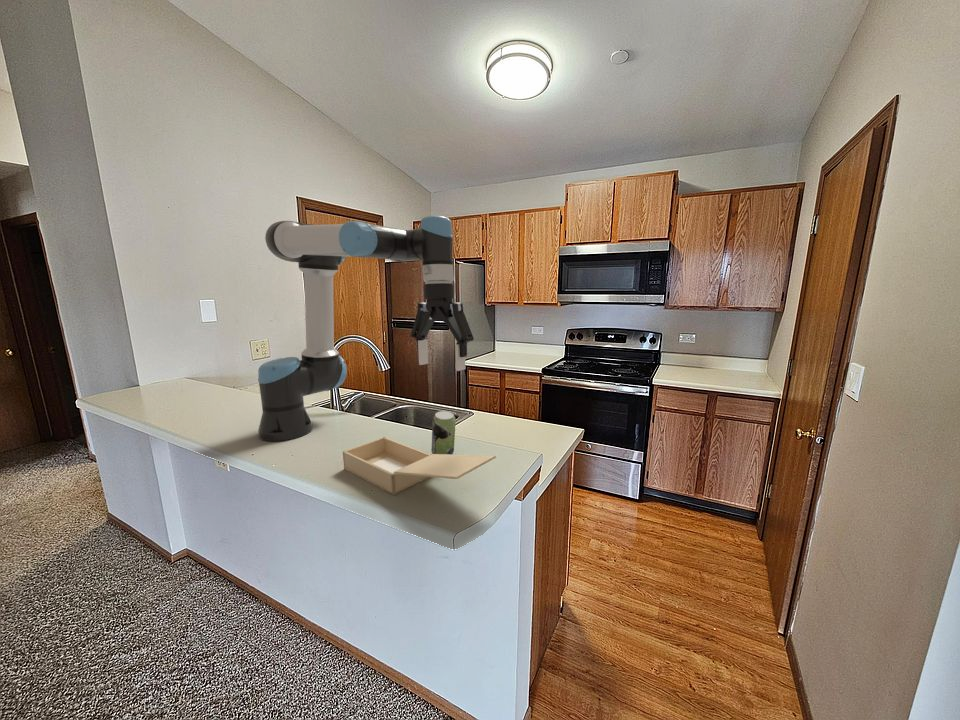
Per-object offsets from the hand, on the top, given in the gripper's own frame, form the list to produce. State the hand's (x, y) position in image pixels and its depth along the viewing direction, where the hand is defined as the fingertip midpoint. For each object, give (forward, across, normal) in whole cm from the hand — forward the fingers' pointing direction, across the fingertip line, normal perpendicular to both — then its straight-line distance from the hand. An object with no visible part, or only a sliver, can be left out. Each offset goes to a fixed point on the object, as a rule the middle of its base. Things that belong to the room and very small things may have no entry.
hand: (441, 367), depth 97 cm
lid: (+17, +15, -15) cm, 27 cm away
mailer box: (+24, -4, -15) cm, 29 cm away
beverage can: (+24, 0, 0) cm, 24 cm away
